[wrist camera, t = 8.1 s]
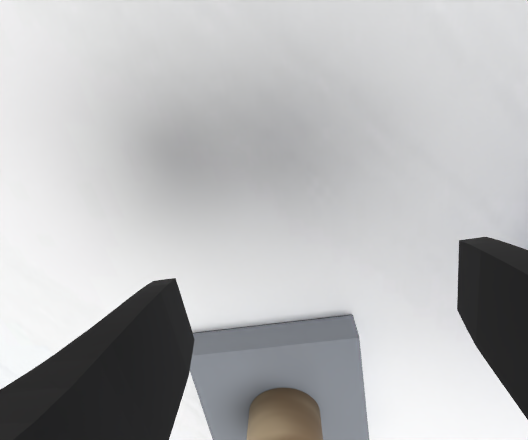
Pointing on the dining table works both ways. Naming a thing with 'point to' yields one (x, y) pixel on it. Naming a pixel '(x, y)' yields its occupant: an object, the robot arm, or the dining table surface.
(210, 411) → the plate
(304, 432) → the oak cylinder
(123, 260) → the dining table surface
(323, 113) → the dining table surface
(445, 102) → the dining table surface
